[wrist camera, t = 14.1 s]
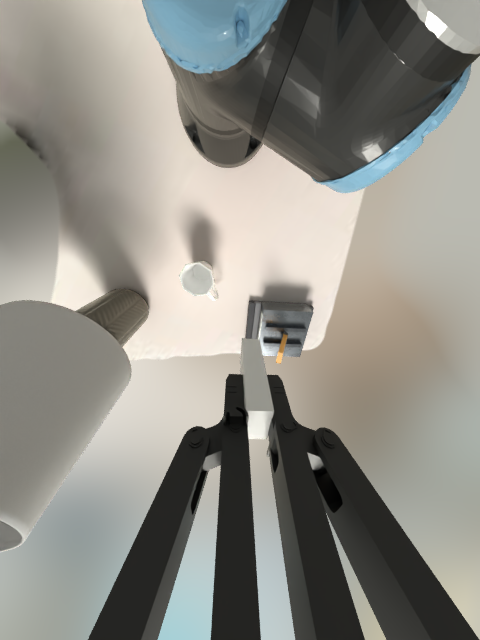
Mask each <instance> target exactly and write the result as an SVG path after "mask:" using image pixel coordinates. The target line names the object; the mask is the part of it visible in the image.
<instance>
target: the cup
mask: <svg viewBox="0 0 480 640" xmlns="http://www.w3.org/2000/svg"><path fill="white" fill-rule="evenodd" d="M179 277H180V280H181V283H182V287H183V289H184V290H186V291H188V292H189V293H191V294H192V295H194V296H199V295H206V294H207V295H208V296H209V298H210V299H211V300H213V301H215V300H216V299H218V293H217V290H216V288H215V286H214V276H213V272H212V267H211V265H210V264H208V263H207V262H206V261H200V262H194V263H190V264H186V265H185V267H184V268H183V270H182V272H181V273H180V275H179ZM211 288H212V289H213V292H214V294H215V297H213V295H212V294H211V292H210V290H211Z"/></svg>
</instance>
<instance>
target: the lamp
mask: <svg viewBox="0 0 480 640" xmlns="http://www.w3.org/2000/svg"><path fill="white" fill-rule="evenodd" d="M148 309H149V308H148V304H147V303H146V301H145V299H144V298H142V297H141V296H140V295H139V294H138V293H136V292H135V291H132V290H127V289H115V290H113V291H110V292H108V293H107V294H105V295H103V296H101V297H100V298H98V299H96V300H94V301H93V302H91V303H89V304H87V305H85V306H84V307H82V308H80V309H78V310H76V311H73V310H71V309H68V308H65V307H62V306H59V305H56V304H52V303H47V302H41V301H32V300H30V301H29V300H27V301H25V300H22V301H14V302H9V303H6V304H3V305H0V552H2V551H7V550H10V549H14V548H16V547H19V546H20V545H22V544H23V543H24V542H25V540H26V538H27V537H28V535H29V534H30V532H31V531H32V529H33V528H34V526H35V525H36V523H37V522H38V520H39V519H40V517H41V516H42V514H43V513H44V511H45V510H46V508H47V507H48V505H49V503H50V502H51V500H52V499H53V497H54V496H55V494H56V493H57V491H58V490H59V488H60V487H61V485H62V484H63V482H64V481H65V479H66V478H67V476H68V475H69V473H70V472H71V470H72V469H73V467H74V466H75V464H76V462H77V461H78V459H79V458H80V456H81V455H82V453H83V452H84V450H85V449H86V447H87V446H88V444H89V443H90V441H91V440H92V438H93V437H94V435H95V434H96V432H97V431H98V429H99V427H100V426H101V424H102V423H103V421H104V420H105V418H106V417H107V415H108V414H109V412H110V411H111V409H112V408H113V406H114V405H115V403H116V402H117V400H118V399H119V397H120V396H121V394H122V393H123V391H124V389H125V388H126V386H127V385H128V383H129V381H130V378H131V365H130V361H129V359H128V356H127V354H126V352H125V351H124V349H123V348H122V347H123V346H124V344H125V343H126V342H127V341H128V340H129V339H130V338H131V337H132V336H133V334H134V333H135V332H136V331H137V330H138V329H139V328H140V327H141V326H142V324H143V323H144V322H145V321H146V320H147V318H148V314H149V311H148Z"/></svg>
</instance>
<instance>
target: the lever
mask: <svg viewBox="0 0 480 640" xmlns="http://www.w3.org/2000/svg"><path fill="white" fill-rule="evenodd" d="M287 338H288V333H287V332H284V333H283V337H282V341H281V344H280V348H279V351H278V355H277V360H276V363H279V364H281V360H282V356H283V352H284V348H285V345H286V342H287Z"/></svg>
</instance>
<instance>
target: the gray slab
mask: <svg viewBox="0 0 480 640" xmlns="http://www.w3.org/2000/svg"><path fill="white" fill-rule="evenodd" d="M260 309H261V301H249V308H248V318H247V328H246V339H257V331H258V324H259V316H260Z"/></svg>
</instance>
